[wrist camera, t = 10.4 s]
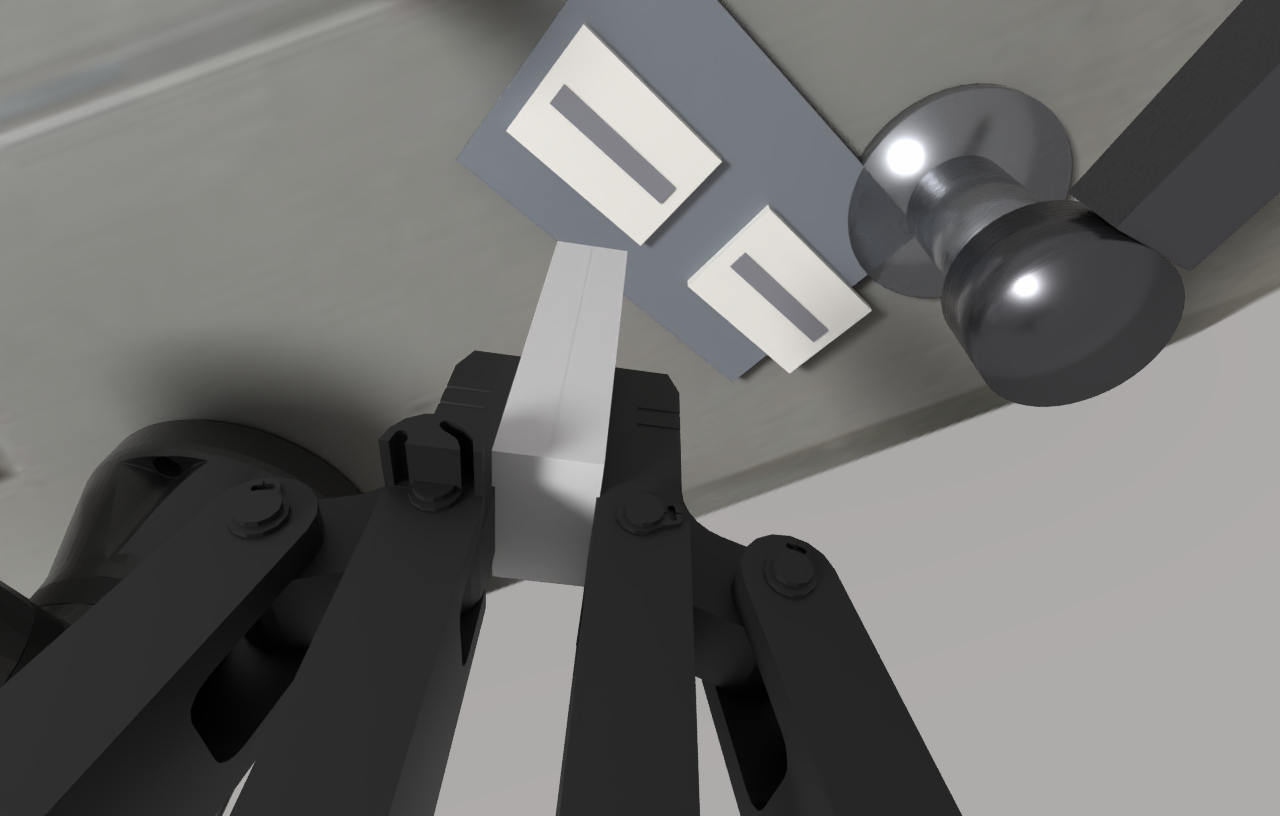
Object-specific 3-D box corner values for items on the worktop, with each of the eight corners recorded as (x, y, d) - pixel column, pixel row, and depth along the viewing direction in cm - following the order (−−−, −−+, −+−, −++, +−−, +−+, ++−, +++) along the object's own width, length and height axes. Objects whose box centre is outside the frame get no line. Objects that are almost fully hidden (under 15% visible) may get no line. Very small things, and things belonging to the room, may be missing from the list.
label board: (748, 386, 31) (751, 404, 30) (461, 153, 25) (451, 165, 23) (932, 242, 26) (943, 257, 25) (634, -95, 20) (633, -94, 19)
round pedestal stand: (917, 321, 28) (971, 414, 23) (801, 202, 25) (835, 279, 20) (1100, 189, 25) (1212, 266, 20) (990, 29, 21) (1091, 70, 16)
